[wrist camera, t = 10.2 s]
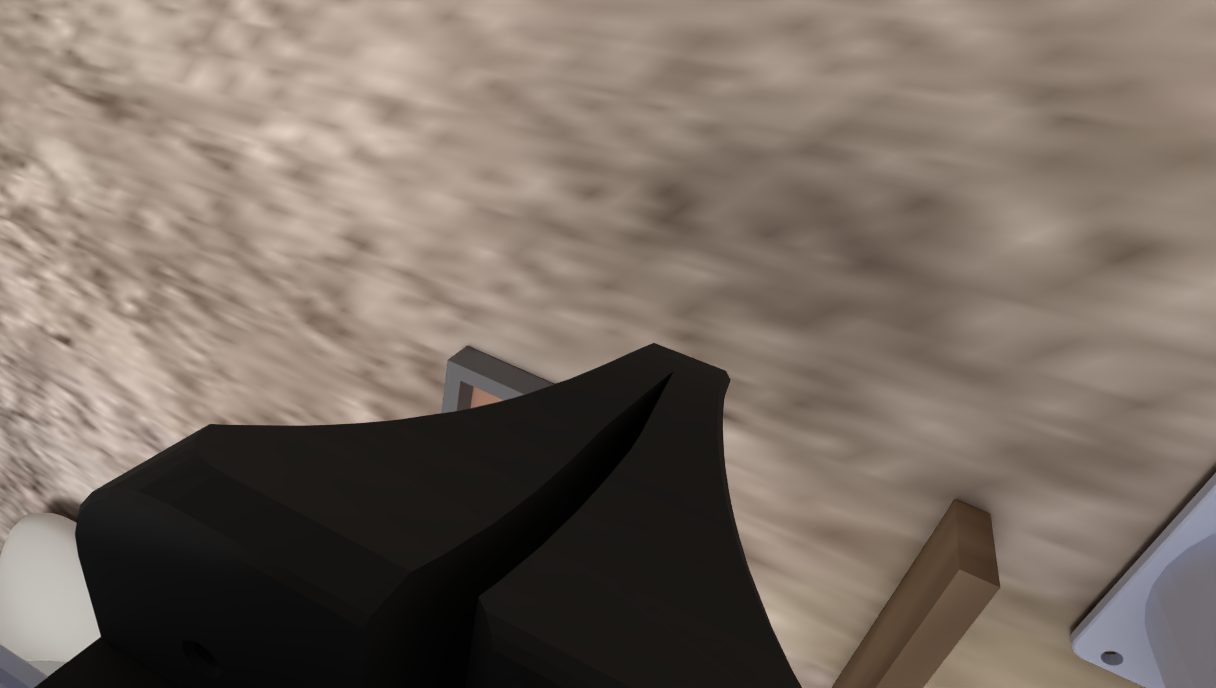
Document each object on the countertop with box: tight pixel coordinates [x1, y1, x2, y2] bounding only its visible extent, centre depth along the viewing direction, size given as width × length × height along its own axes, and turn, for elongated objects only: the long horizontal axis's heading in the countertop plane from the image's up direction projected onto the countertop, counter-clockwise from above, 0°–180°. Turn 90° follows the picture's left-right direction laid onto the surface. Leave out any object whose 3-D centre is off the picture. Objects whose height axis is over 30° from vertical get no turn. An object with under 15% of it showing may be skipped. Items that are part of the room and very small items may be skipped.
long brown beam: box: [832, 500, 1000, 688], centre depth 25 cm, size 12×22×3 cm, turn 167°
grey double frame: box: [442, 346, 554, 413], centre depth 27 cm, size 6×12×1 cm, turn 167°
